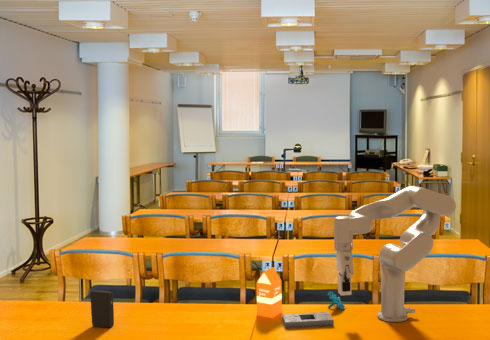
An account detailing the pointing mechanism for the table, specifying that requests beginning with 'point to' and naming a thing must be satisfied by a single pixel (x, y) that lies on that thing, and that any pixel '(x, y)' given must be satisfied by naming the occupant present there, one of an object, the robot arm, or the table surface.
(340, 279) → the square peg
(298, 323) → the grey peg hole board
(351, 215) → the robot arm
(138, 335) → the table surface
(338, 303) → the teal plastic figure
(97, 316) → the card reader
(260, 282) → the orange juice
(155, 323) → the table surface
